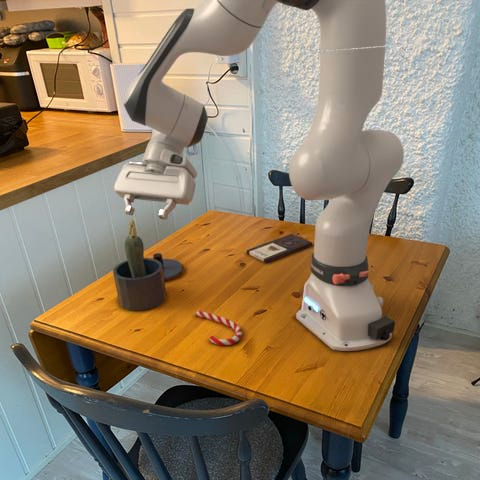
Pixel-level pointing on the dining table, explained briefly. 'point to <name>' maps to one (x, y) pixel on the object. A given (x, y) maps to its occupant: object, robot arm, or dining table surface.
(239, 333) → the candy cane
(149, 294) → the dark grey pot
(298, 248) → the chocolate bar
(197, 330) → the dining table surface
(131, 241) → the vegetable
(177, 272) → the lid
